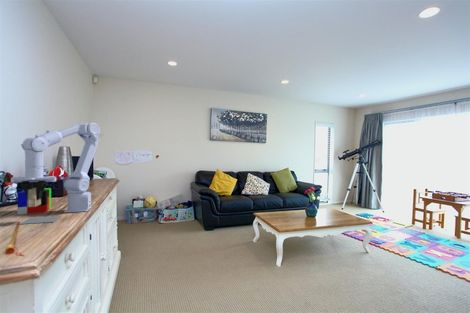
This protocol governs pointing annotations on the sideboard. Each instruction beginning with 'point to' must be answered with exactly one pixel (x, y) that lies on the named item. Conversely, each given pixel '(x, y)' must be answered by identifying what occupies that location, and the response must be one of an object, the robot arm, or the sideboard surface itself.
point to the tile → (33, 198)
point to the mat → (40, 220)
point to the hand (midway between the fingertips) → (34, 199)
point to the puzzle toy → (40, 208)
